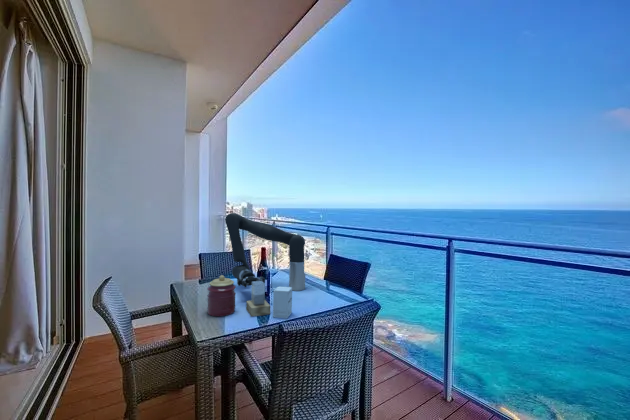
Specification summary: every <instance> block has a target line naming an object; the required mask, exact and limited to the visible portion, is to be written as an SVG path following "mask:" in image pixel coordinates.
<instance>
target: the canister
mask: <svg viewBox="0 0 630 420" xmlns="http://www.w3.org/2000/svg"><path fill="white" fill-rule="evenodd" d="M234 283H235V281H234V280H232V279H231V278H228V277H225V276H224V275H223V274H221V275H219V277H218V278H215V279H212V281H210V282H209V284H208V285H209V286H208V287H207V291H208V293H207V295H206V296H207V307H206V311H207V314H208V315H209V316H210V317H211V316H212V317H224V316H225V317H226V316H229V315H231V314H233V313H234V312H235V310H236V294H237V293H236V291H235V289H236V285H235V284H234Z"/></svg>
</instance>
